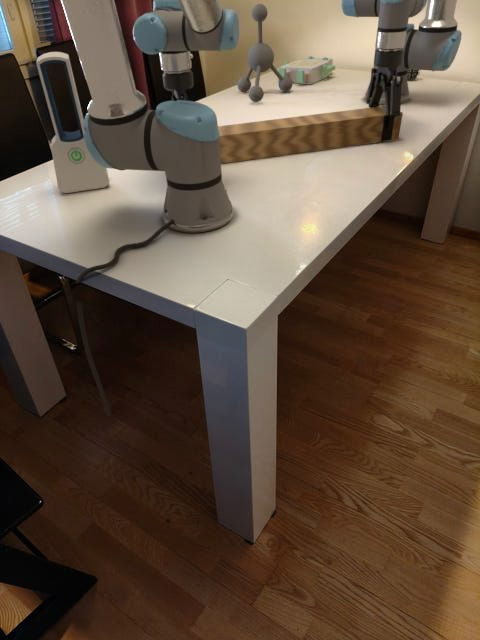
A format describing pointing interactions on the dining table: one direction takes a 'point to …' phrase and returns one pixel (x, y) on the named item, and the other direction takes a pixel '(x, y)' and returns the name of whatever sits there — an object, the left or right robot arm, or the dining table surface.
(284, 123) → the long wooden beam
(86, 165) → the electronic device
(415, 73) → the grenade
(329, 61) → the clip lid food container
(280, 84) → the molecular model
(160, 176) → the dining table surface
